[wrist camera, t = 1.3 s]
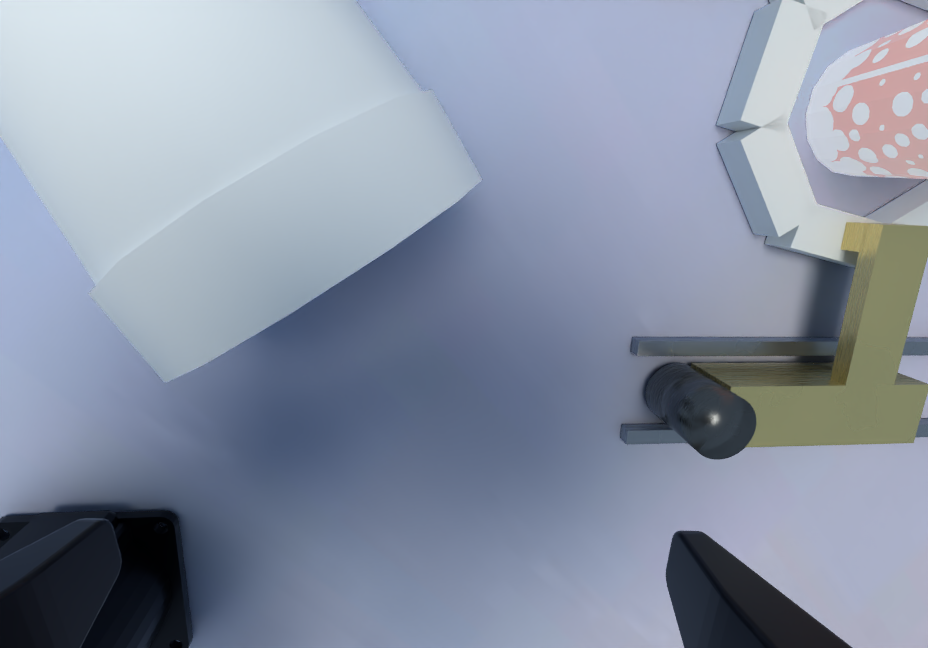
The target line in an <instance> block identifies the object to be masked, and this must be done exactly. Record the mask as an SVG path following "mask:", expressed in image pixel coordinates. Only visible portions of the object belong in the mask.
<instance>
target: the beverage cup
mask: <svg viewBox="0 0 928 648" xmlns="http://www.w3.org/2000/svg"><path fill="white" fill-rule="evenodd" d="M806 129H807V140H808V142H809V144H810V147H811V149H812V151H813V153H814V155H815V157H816V159H817V160H818V161H819V162H820V163H822V164H823V165H824V166H826V167H827V168H828V169H829V170H831V171H832V172H834V173H840V174H845V175H851V176H866V177H891V178H915V179H928V20H926V21H923V22H921V23H918V24H916V25H913V26H910V27H908V28H905V29H903V30H900V31H898V32H895V33H893V34H890V35H888V36H885V37H882V38H880V39H877V40H875V41H872V42H870V43H867V44H865V45H862V46H860V47H857V48H854V49H852V50H849V51H848V52H847V53H845V54H844V55H843V56H841V57H840V58H839V59H837V60H836V61H835V62H833V63H832V64H831V65H829V66H828V67H827V69H826V70H825V72H824V73H823V75H822V76H821V78H820V79H819V81H818V82H817V84H816V85H815V87H814V88H813V91H812V94H811V98H810V101H809V105H808V108H807V112H806Z"/></svg>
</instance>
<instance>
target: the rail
mask: <svg viewBox="0 0 928 648" xmlns="http://www.w3.org/2000/svg"><path fill="white" fill-rule="evenodd" d="M838 342H839V338H830V337H632V345H631V352H632V353H634V354H635V355H636V356H835V355H836V351H837V346H838ZM902 355H928V338H906V341H905V345H904V349H903V353H902ZM915 437H928V418H925V419H920V421H919V425H918V429H917V432H916V436H915ZM620 438H621V439H622V440H623V441H624V442H625V444H661V443H687V442H686V441H685V440H684V439H683V438H682V437H681V436H679V435H678V434H677V433H676V432H675V431H674V430H673V429H672V428H670V427H669V426H668V425H667V424H622V427H621V435H620Z"/></svg>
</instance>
